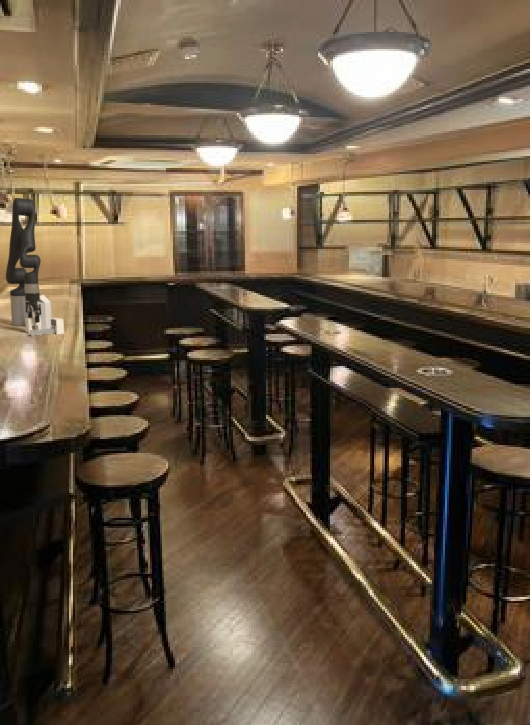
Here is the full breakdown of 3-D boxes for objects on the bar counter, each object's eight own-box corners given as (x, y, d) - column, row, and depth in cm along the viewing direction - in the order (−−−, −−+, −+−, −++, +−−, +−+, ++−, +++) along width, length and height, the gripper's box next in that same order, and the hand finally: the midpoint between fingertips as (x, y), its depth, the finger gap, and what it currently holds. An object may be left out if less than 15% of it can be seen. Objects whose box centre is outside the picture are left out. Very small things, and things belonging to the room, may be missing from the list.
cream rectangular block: (29, 333, 337) (28, 318, 335) (25, 332, 340) (24, 318, 338) (41, 332, 342) (40, 317, 340) (38, 331, 345) (37, 316, 343)
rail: (29, 335, 330) (29, 330, 330) (60, 332, 342) (59, 327, 341) (31, 336, 329) (31, 330, 328) (62, 333, 340) (61, 327, 340)
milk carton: (52, 327, 358) (50, 294, 354) (46, 329, 351) (44, 296, 347) (40, 327, 358) (38, 294, 354) (34, 329, 351) (32, 295, 347)
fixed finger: (50, 332, 341) (49, 318, 339) (58, 332, 344) (57, 317, 342) (56, 334, 336) (55, 319, 334) (64, 333, 339) (63, 319, 337)
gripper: (19, 291, 339) (21, 321, 342) (31, 293, 329) (33, 323, 332) (33, 290, 344) (35, 319, 347) (44, 292, 334) (46, 322, 337)
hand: (34, 321), depth 339 cm, fingers open, 8 cm apart
